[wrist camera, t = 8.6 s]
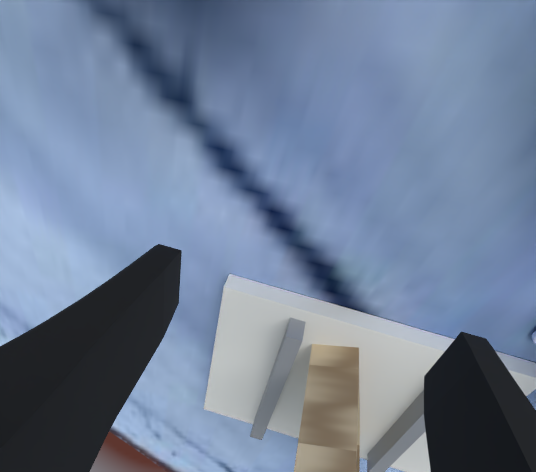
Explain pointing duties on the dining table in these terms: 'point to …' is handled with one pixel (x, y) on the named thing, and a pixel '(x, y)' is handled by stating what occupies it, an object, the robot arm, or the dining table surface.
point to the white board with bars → (297, 364)
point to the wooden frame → (330, 412)
